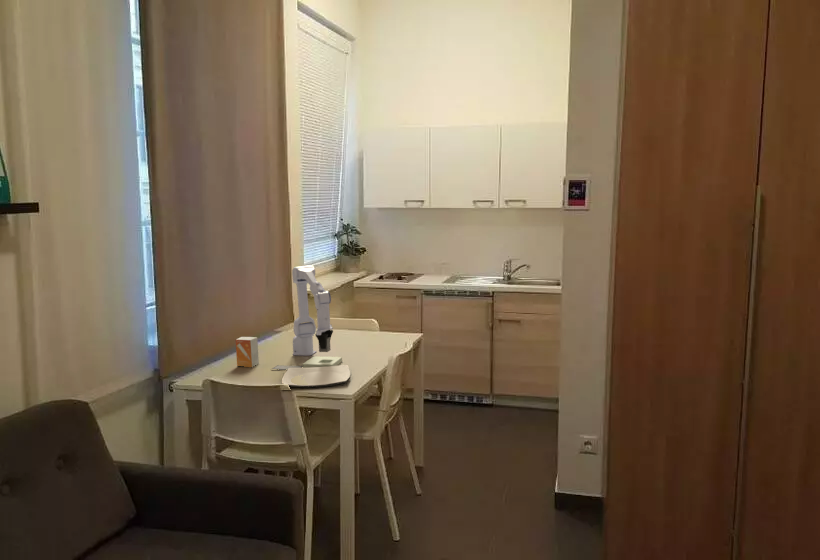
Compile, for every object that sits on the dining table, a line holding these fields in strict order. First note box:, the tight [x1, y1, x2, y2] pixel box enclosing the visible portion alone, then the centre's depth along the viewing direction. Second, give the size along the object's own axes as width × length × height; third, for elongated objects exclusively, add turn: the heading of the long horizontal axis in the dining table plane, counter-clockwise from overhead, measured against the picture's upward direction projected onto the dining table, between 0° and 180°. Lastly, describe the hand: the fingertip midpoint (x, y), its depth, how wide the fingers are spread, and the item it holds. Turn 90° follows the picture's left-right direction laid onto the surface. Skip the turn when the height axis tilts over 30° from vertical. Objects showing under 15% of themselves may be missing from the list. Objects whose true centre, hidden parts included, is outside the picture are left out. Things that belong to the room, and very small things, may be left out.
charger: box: [318, 337, 331, 353], centre depth 310 cm, size 4×4×7 cm
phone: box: [271, 364, 303, 371], centre depth 309 cm, size 13×7×1 cm, turn 76°
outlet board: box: [302, 355, 343, 368], centre depth 313 cm, size 14×14×2 cm
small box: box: [235, 336, 260, 368], centre depth 316 cm, size 8×6×13 cm
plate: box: [281, 364, 351, 388], centre depth 289 cm, size 29×29×3 cm
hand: (325, 347), depth 310 cm, fingers closed on charger, 4 cm apart
